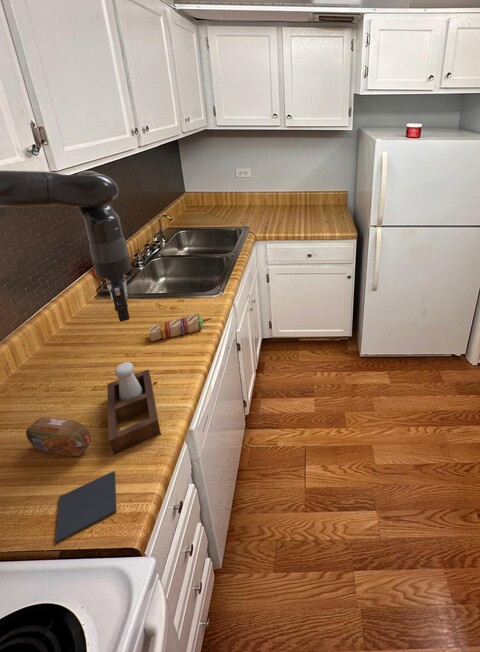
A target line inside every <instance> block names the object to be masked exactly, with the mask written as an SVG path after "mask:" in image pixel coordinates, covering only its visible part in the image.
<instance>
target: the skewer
mask: <svg viewBox="0 0 480 652" xmlns="http://www.w3.org/2000/svg"><path fill="white" fill-rule="evenodd" d="M208 321H212V317H208V318H203V317H202V316H201V314H200V313H193V314H189V315H186V316H183V317H180V318H175V319H170V320H168V321H167V320H166V321H165V322H164V321H163V322H160V323H158V324H154V325H150V326H149V332H148V333H149V336H148V337H149V340H150V341H151V342H153V341H157V340H160V339H163V340H165V339H166V338H170V337H171V338H172V337H177V336H181V335H182V336H184V335H185V334H190V333H193V332H196V331H199V330H203V328H204V327H203V326H204V323H205V322H208Z"/></svg>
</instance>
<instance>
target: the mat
mask: <svg viewBox="0 0 480 652" xmlns="http://www.w3.org/2000/svg"><path fill="white" fill-rule="evenodd" d="M116 491H117V490H116V471H115V470H113V471H111V472H109V473H107V474H104V475H103V476H100V477H98V478H96V479H93V480H91V481H90V482H88V483H85V484H83V485H81V486H79V487H77V488H74V489H72V490H71V491H68V492H66V493H64V494H62V495H60V496H59V501H58V510H57V520H56V530H55V538H54V539H55V540H54V542H55V544H58V543H60V542H62V541H63V539H64V538H66V537H68V536H70V537H72V536H73V535H72V534H74V535H75V534H78V533H79V532H81V531H83V530H85V529H87V528H88V527H91V526H93V525H95V524H96V523H98V522H101V521H102V520H104V519H106V518H108V517H110V516H112V515H114V514H116V513H117V493H116ZM71 535H72V536H71ZM68 538H69V537H68ZM66 539H67V538H66ZM61 540H62V541H61ZM64 540H65V539H64ZM59 541H60V542H59ZM57 542H58V543H57Z"/></svg>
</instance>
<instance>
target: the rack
mask: <svg viewBox="0 0 480 652" xmlns="http://www.w3.org/2000/svg"><path fill="white" fill-rule="evenodd" d="M133 374H134V375H135V377H136V379H137V380H138V382H139V384H140V386H141V387H142V389H143V390H144V391H145V393H143V394H142V395H139V396H137V397H134V398H132V399H129V400H126V401H124V402H121V403H120V402H119V399H120V397H119V379H117V380H114V381H111V382H109V383H107V386H106V387H107V391H106V392H107V431H108V443H109V447H110V450H111V453H112V456H116V455H119V454H120V453H123V452H124V451H126V450H129V449H131V448H133V447H136V446H138V445H141V444H142V443H143V444H144V442H147V441H149V440H152V439H154V438H156V437H158V436H161V435H162V432H161V426H160V421H159V414H158V410H157V404H156V399H155V393H154V387H153V381H152V378H151V374H150V370H149V369H145V370H143V371H140V372H137V373H133ZM145 413H148V416H149V418H147V419H145V420H142V421H139V422H137V423H135V424H132V425H130V426H127V427H125V428H123V429H121V427H120V424H121V423H123V422H126V421H128V420H131V419H133V418H136V417H138V416H141V415H143V414H145Z"/></svg>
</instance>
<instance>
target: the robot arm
mask: <svg viewBox="0 0 480 652" xmlns="http://www.w3.org/2000/svg"><path fill="white" fill-rule="evenodd" d="M119 193H120V191H119V186H118V185H117V182H116V181H115V180H114V179H112V178H111V177H110V176H107V175H105V174H102V173H99V172H96V171H93V170H84V171H81V172H79V173H77V174H61V173H59V172H53V171H42V170H41V171H39V170H37V171H36V170H0V208H35V207H36V208H37V207H54V206H63V207H64V206H65V207H77V208H78V210H79V213H80V215H81V218H82V219H83V221H84V225H85V231H86V235H87V239H88V243H89V252H90V257H91V259H92V264H93V267H94V271H95V276H97V278H99V279H104V280H106V281H107V283H106V284H107V289H108V290H109V293H110V298H111V301H113V306H114V311H115V312H116V313H117V316H118V320H119V322H121V323H122V322H126V321H129V320H130V313H129V309H128V307H129V303H128V299H127V298H128V291H127V279H126V275H127V274H128V273H129V272H130V271H131V270H132V264H131V259H130V254H129V250H128V244H127V241H126V239H125V236H124V232H123V227H122V222H121V219H120V217H119V214H118V213H117V212H115V210H114V209H113V206H112V203H113V202H115V201H116V200H117V198H118V197H119Z"/></svg>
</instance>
